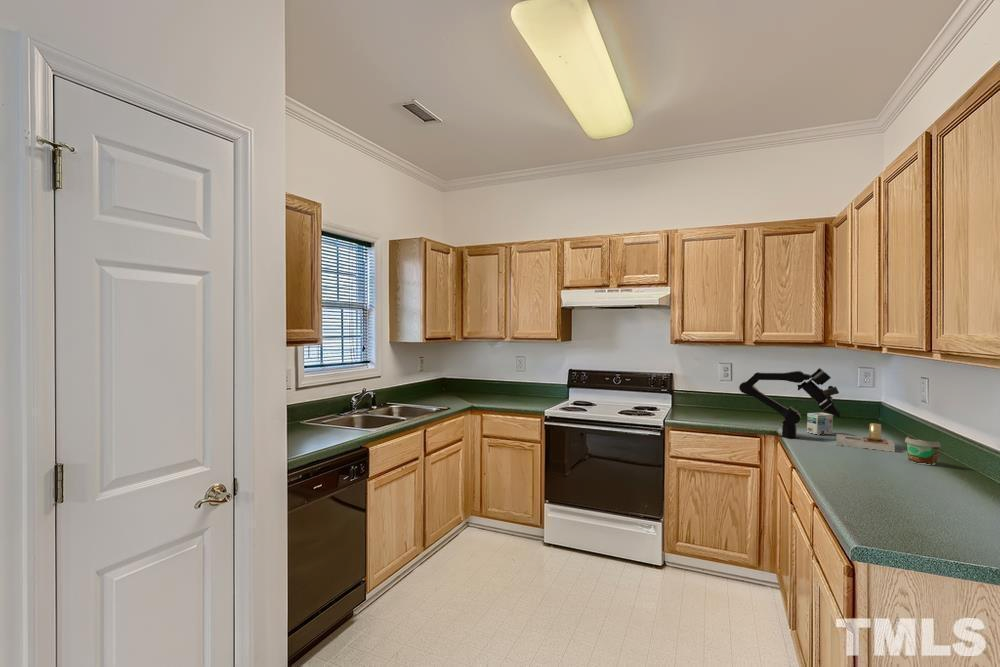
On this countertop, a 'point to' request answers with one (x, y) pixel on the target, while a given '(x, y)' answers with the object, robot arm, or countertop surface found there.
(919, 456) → the food container
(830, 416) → the light bulb box
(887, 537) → the countertop surface
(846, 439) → the socket plate
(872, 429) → the brass peg
